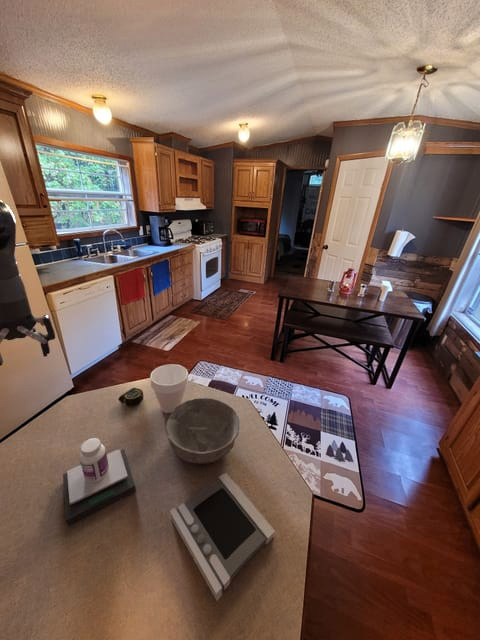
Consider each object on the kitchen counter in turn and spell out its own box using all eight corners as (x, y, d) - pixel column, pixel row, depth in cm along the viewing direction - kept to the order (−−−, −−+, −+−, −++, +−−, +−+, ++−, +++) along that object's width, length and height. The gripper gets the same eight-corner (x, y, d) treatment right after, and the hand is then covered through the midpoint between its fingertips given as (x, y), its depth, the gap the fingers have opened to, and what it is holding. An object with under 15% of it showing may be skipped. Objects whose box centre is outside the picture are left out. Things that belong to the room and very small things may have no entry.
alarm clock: (169, 511, 56) (227, 464, 65) (171, 522, 58) (227, 476, 68) (216, 593, 44) (277, 522, 54) (217, 604, 46) (275, 534, 56)
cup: (195, 401, 93) (195, 370, 87) (174, 424, 82) (172, 390, 77) (168, 390, 97) (166, 360, 92) (144, 411, 87) (141, 378, 81)
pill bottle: (104, 459, 66) (99, 431, 62) (112, 473, 62) (107, 445, 58) (81, 472, 62) (74, 443, 58) (88, 488, 59) (81, 459, 55)
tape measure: (134, 393, 94) (134, 384, 93) (148, 400, 92) (147, 391, 90) (118, 403, 89) (117, 395, 87) (132, 411, 86) (131, 402, 85)
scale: (68, 527, 54) (64, 516, 53) (64, 480, 63) (61, 471, 62) (135, 491, 62) (134, 482, 61) (124, 455, 71) (123, 445, 70)
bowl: (251, 457, 73) (254, 431, 69) (185, 496, 62) (184, 468, 58) (215, 412, 89) (216, 389, 85) (157, 437, 77) (155, 411, 73)
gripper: (45, 288, 62) (58, 346, 68) (-38, 295, 54) (-14, 359, 60) (44, 297, 56) (59, 359, 63) (-47, 306, 49) (-20, 376, 55)
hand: (23, 359), depth 62 cm, fingers open, 8 cm apart
